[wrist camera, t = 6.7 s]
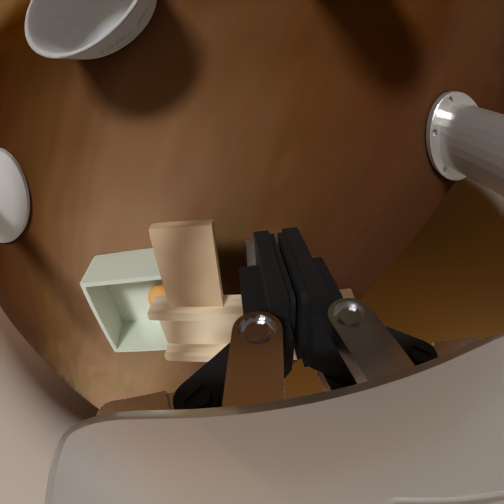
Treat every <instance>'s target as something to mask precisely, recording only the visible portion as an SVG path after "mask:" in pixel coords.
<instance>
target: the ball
mask: <svg viewBox="0 0 504 504" xmlns="http://www.w3.org/2000/svg"><path fill="white" fill-rule="evenodd" d="M154 296H166V293H165V290H164V286H163V283H159V284H156V285H155V286H153V287H152V288H151V290H150V292H149V295H148V301H149V304H150V305H151V303H152V300H153V298H154Z"/></svg>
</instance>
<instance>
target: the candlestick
mask: <svg viewBox="0 0 504 504" xmlns="http://www.w3.org/2000/svg"><path fill="white" fill-rule="evenodd" d="M29 213H30V196H29V189H28V185H27V181H26V178H25V175H24V173H23V171H22V169H21V167H20V165H19V164H18V162H17V161H16V159H15V158H14V157H13V156H12V155H11V154H10V153H9V152H8V151H6V150H4V149H2V148H0V243H8V242H11V241H13V240H15V239H16V238H17V237H18V236H19V235H20V234H21V233H22V232H23V231H24V229H25V227H26V225H27V222H28V218H29Z"/></svg>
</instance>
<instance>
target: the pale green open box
mask: <svg viewBox="0 0 504 504" xmlns="http://www.w3.org/2000/svg"><path fill="white" fill-rule="evenodd" d="M159 283H162V279H161V276H160V272H159V269H158V265H157V261H156V258H155V254H154V250H153V248H148V249H140V250H133V251H125V252H118V253H110V254H103V255H96V256H94V258H93V260H92V262H91V263H90V265H89V267H88V269H87V271H86V273H85V275H84V276H83V278H82V280H81V282H80V285H81V288H82V290H83V292H84V294H85V296H86V298H87V301H88V303H89V305H90V307H91V309H92V311H93V313H94V315H95V317H96V319H97V321H98V322H99V324H100V326H101V328H102V330H103V332H104V334H105V335H106V337H107V339H108V341H109V343H110V344H111V346H112V348H113V350H114V351H115V352H135V351H155V350H166V349H167V345H168V342H167V340H166V337H165V335H164V332H163V329H162V327H161V324H160V321H159V320H149V317H148V315H147V313H148V311H149V308H150V304H149V301H148V295H149V292H150V290H151V288H152V287H153V286H155V285H156V284H159Z"/></svg>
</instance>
